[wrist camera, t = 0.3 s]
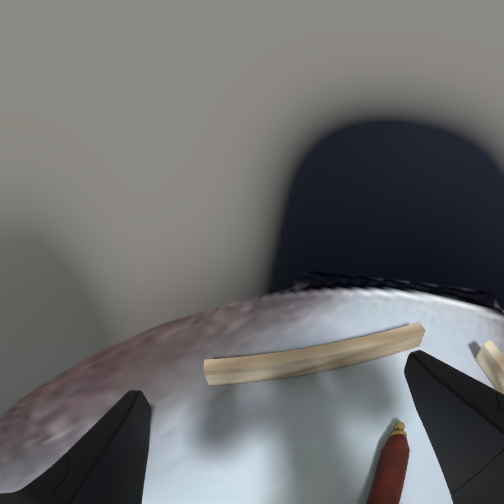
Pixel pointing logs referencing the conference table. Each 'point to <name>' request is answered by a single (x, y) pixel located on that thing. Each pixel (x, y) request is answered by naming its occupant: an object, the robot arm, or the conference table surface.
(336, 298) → the conference table surface
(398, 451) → the gavel
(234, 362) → the wooden bars
